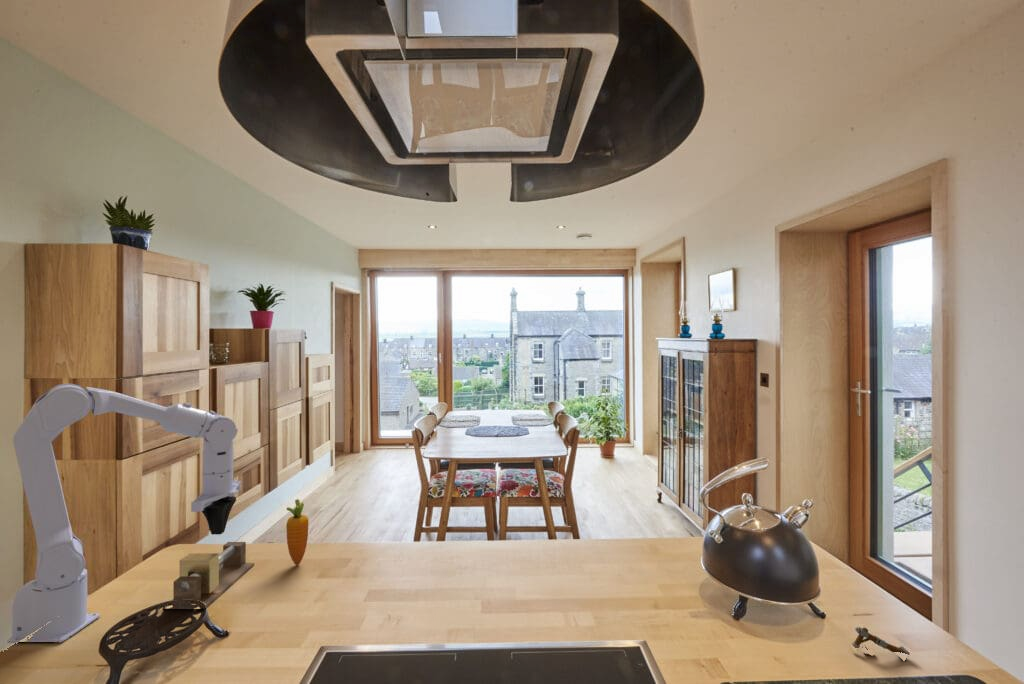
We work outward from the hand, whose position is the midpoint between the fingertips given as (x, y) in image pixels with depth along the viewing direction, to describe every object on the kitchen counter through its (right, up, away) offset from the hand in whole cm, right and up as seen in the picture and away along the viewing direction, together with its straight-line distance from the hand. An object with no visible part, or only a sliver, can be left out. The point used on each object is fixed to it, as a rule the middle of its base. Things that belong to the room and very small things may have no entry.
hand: (217, 533), depth 101 cm
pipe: (0, -7, -2) cm, 7 cm away
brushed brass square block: (0, -9, -6) cm, 11 cm away
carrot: (+14, -11, +7) cm, 19 cm away
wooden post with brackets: (+126, -11, -24) cm, 128 cm away
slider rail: (0, -10, -2) cm, 11 cm away
